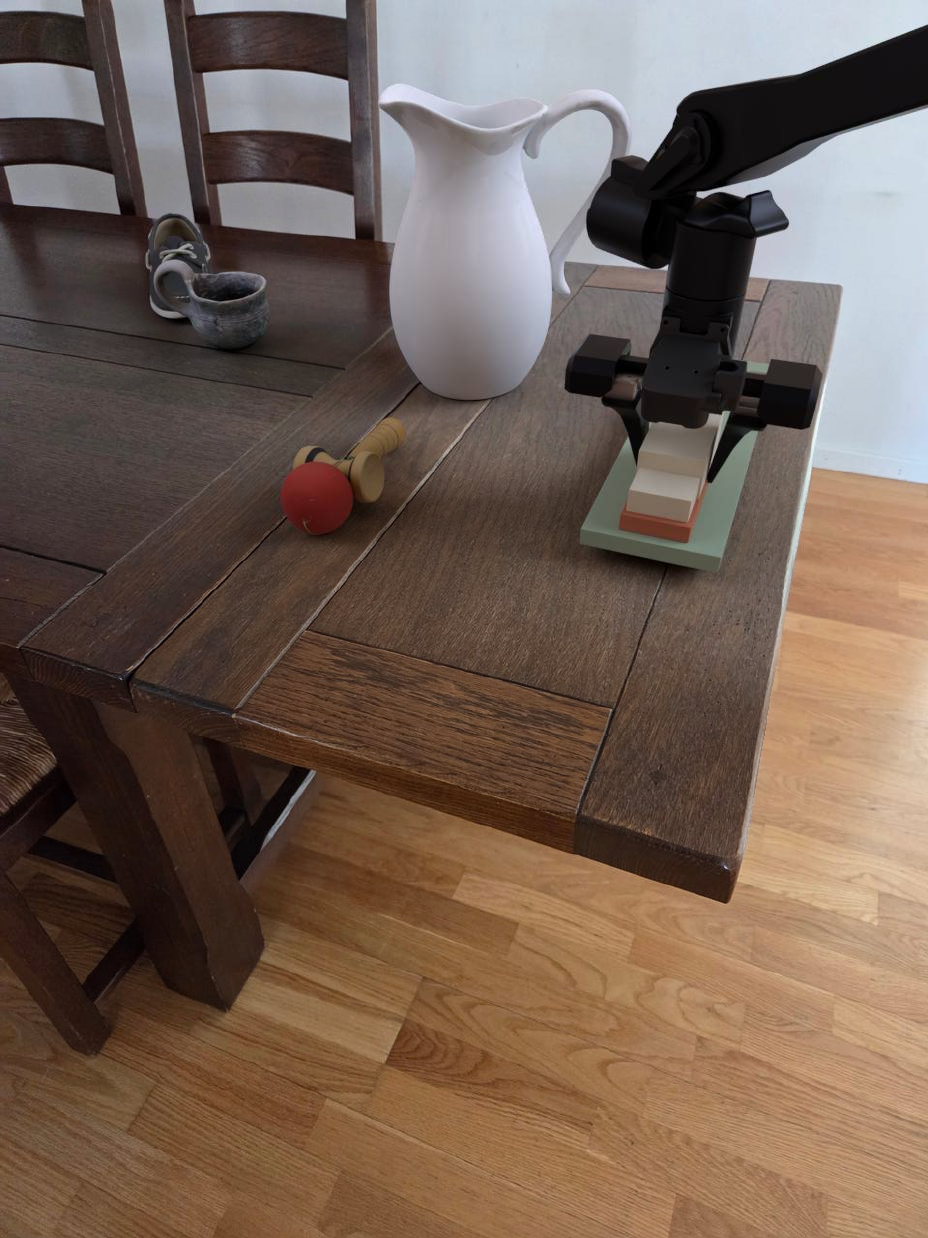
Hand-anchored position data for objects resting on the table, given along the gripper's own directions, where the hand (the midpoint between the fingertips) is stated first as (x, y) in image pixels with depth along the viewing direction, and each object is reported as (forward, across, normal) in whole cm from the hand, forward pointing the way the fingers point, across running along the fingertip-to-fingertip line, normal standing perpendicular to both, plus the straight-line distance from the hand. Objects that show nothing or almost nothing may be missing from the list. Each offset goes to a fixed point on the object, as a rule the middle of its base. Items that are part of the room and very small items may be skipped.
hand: (674, 474), depth 72 cm
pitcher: (+4, -23, +21) cm, 31 cm away
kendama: (+4, -28, -6) cm, 29 cm away
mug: (+4, -58, +18) cm, 60 cm away
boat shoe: (+4, -72, +31) cm, 79 cm away
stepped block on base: (+1, 0, -1) cm, 1 cm away
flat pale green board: (+4, 0, +9) cm, 10 cm away
